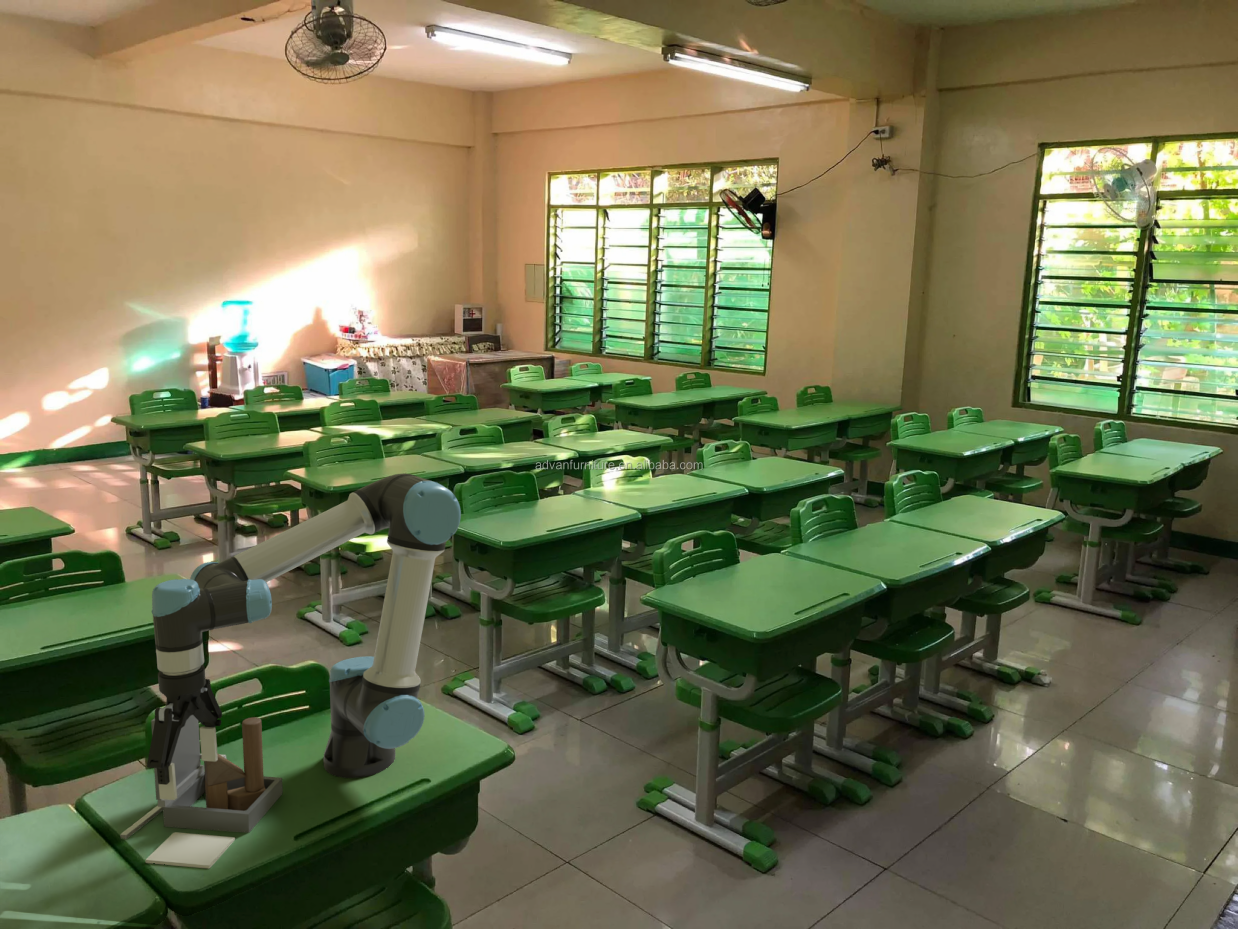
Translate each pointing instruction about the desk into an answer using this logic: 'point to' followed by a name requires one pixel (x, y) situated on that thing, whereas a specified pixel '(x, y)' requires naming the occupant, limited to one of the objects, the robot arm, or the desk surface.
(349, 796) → the desk surface
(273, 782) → the case
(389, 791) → the desk surface
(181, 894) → the desk surface
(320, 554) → the robot arm
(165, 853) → the mat
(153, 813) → the rod
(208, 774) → the wooden toy pieces
